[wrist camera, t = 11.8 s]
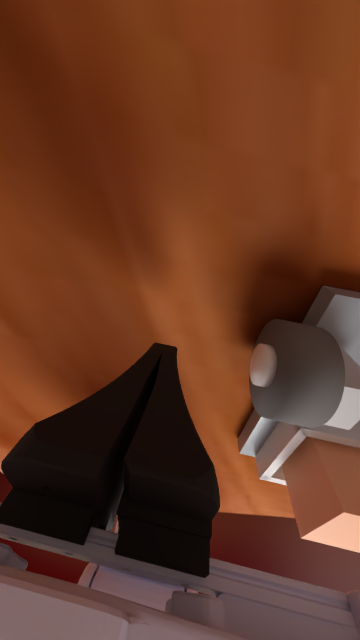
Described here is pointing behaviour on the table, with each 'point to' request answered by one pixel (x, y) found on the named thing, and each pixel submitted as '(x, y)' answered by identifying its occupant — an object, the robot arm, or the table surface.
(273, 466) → the chassis
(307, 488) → the tan rectangular block
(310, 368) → the wheel
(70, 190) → the table surface
